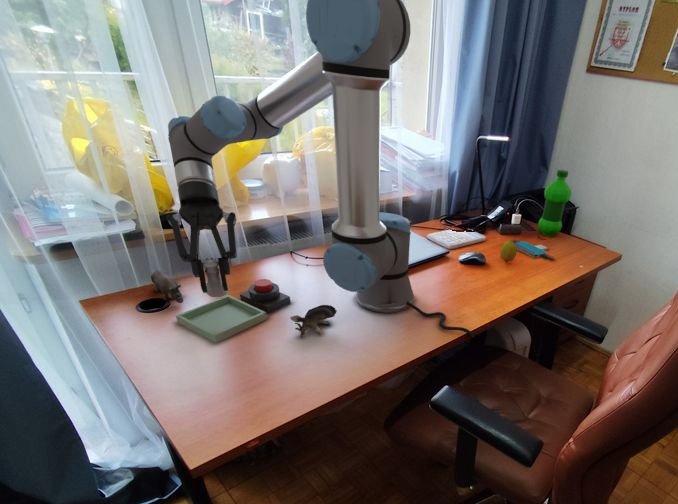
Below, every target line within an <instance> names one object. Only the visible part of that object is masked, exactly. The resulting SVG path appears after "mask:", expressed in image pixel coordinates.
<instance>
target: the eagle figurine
mask: <svg viewBox="0 0 678 504" xmlns="http://www.w3.org/2000/svg"><path fill="white" fill-rule="evenodd" d="M337 311H338V310H337V309H336V308H335V307H334V306H332V305H329V304H321V305H318V306H316V307H315V306H314V307H313V308H310V309H308V310H307V312H306V313H305V316H304V317H302V316H300V315H298V314H297V315H293V316H290V320H291V321H292V322H294V325H297V327H295V328H294V329H295V330H297V331H299V332H300V338H302V337H303V336H305V334H306V332H307V330H310V329H311V330H314V331H316V332H317V333H319V334H320V335H322V334H323V333H322V329H321V328H320V327H319V326H318V324H319V325H321V324H323V325H331V323H330V321H328V320H327V319H331V318H335V316H336V314H337Z"/></svg>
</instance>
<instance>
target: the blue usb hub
mask: <svg viewBox="0 0 678 504" xmlns="http://www.w3.org/2000/svg"><path fill="white" fill-rule="evenodd" d="M512 242H514V243H515V245H516V247H517V251H519V252H521V253H523V254H525V255H527V256H529V257H531V258H533V259H536V258H542V259H544V260H550V261H554V256H550V255H549V254H547V253H548V252H547V251H546V250H548V249H549V247H547V246H545V245H544V244H537V245H533V244H531V243H529V242H527V241H520V240H517V239H512Z"/></svg>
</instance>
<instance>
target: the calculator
mask: <svg viewBox="0 0 678 504" xmlns="http://www.w3.org/2000/svg"><path fill="white" fill-rule="evenodd" d="M426 238H427V239H428V240H429V241H432V242H433V243H435V244H438V245H439V246H441V247H443V248H446V249H448V250H454V249H457V248H463V247H465V246H471V245H474V244H477V243H481V242H485V241H486V239H487V236H485V235H484V234H482V233H479V232H477V231H475V232H466V231H464V232H456V231H452V230H450V229H446V230H440V231H435V232H432V233H428V234H426Z"/></svg>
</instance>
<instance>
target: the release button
mask: <svg viewBox="0 0 678 504" xmlns="http://www.w3.org/2000/svg"><path fill="white" fill-rule="evenodd" d="M272 283H273V282H272V281H271V279H266V278H259V279H256V280H255V281H254V282H253V284H254V286H255V291H256V292H262V293H263V292H269V291H271V290H272Z"/></svg>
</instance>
